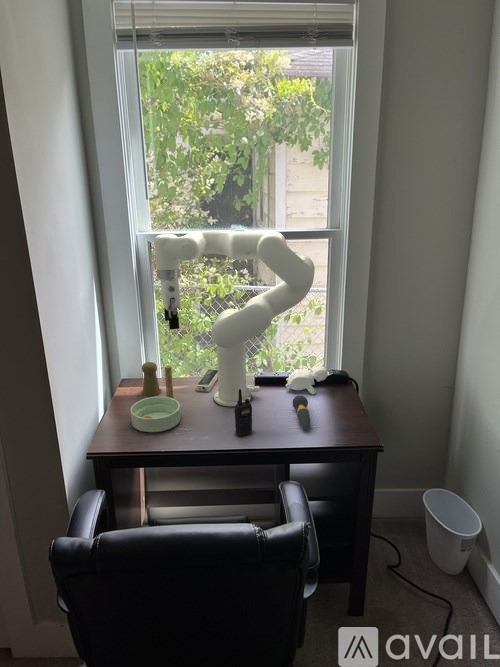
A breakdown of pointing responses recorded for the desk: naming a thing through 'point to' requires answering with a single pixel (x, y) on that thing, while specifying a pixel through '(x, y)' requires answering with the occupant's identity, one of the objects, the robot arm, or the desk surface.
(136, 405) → the bowl
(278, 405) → the desk surface
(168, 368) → the muddler
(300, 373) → the white animal figurine
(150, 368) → the cork
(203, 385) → the multiport hub
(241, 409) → the two-way radio
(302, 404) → the dark grey microphone
